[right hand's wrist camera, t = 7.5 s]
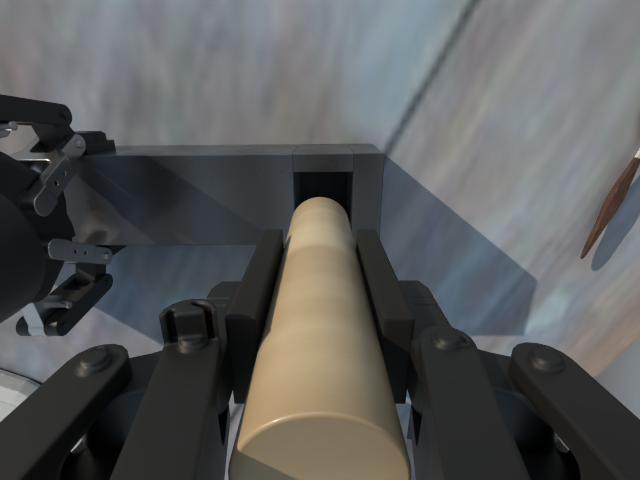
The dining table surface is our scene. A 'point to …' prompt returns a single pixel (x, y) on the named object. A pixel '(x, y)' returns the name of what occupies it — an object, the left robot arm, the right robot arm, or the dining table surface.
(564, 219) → the dining table surface
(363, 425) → the peg
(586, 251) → the fork
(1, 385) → the wall clock
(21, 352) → the dining table surface
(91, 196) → the peg board
